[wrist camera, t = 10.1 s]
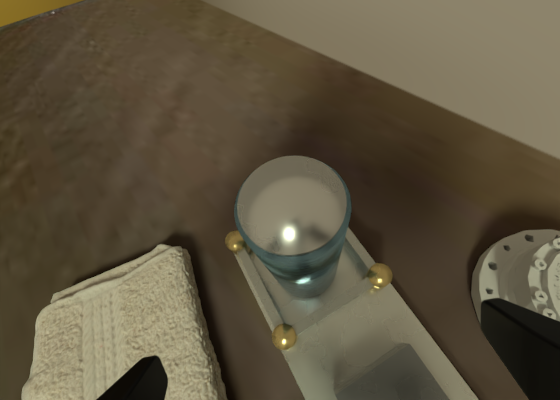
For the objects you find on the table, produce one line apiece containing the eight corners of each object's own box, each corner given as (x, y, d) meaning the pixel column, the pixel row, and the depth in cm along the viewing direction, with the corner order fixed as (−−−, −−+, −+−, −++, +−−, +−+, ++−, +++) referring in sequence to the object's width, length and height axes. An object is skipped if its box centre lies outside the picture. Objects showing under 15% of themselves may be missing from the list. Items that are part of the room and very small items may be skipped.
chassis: (379, 543, 14) (393, 593, 11) (233, 249, 22) (221, 237, 19) (506, 444, 15) (547, 469, 12) (321, 197, 23) (321, 179, 20)
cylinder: (304, 312, 18) (287, 289, 9) (260, 263, 20) (209, 202, 11) (350, 264, 19) (378, 199, 10) (304, 222, 21) (292, 133, 12)
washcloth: (189, 241, 23) (172, 229, 21) (272, 516, 15) (261, 556, 12) (57, 304, 22) (21, 300, 20) (69, 631, 14) (9, 702, 12)
